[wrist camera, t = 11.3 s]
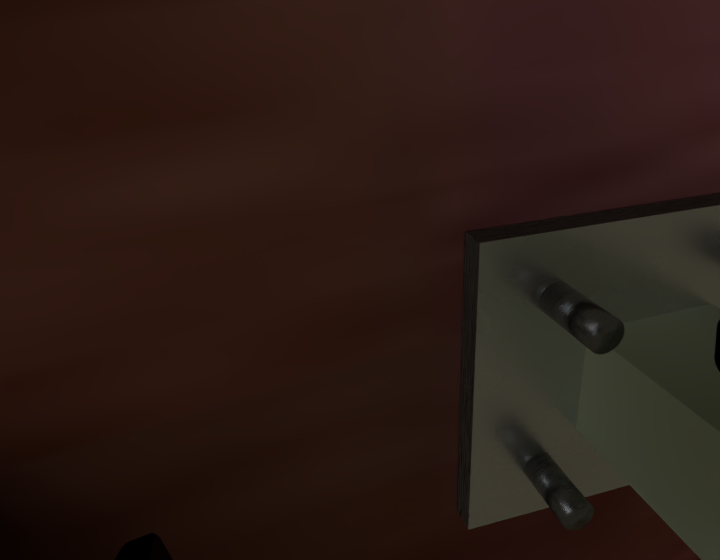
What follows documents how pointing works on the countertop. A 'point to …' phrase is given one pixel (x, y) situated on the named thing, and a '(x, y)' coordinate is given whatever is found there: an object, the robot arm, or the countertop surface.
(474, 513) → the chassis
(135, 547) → the robot arm
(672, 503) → the plate
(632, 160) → the countertop surface
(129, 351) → the countertop surface
